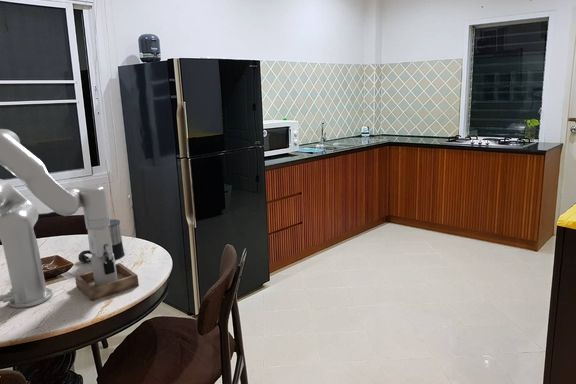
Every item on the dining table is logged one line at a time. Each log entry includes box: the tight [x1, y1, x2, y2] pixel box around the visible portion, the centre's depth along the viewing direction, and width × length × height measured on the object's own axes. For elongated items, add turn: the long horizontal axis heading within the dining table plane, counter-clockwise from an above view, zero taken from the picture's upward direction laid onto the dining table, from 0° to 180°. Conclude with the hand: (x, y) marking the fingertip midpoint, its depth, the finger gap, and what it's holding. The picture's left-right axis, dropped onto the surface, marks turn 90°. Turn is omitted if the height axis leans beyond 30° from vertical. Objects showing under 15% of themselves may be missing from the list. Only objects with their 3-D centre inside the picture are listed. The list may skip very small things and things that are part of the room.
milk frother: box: [77, 218, 125, 264], centre depth 180 cm, size 14×16×15 cm
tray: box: [74, 262, 140, 302], centre depth 155 cm, size 16×16×4 cm
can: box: [89, 253, 118, 286], centre depth 153 cm, size 8×8×12 cm
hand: (104, 269), depth 154 cm, fingers open, 9 cm apart
